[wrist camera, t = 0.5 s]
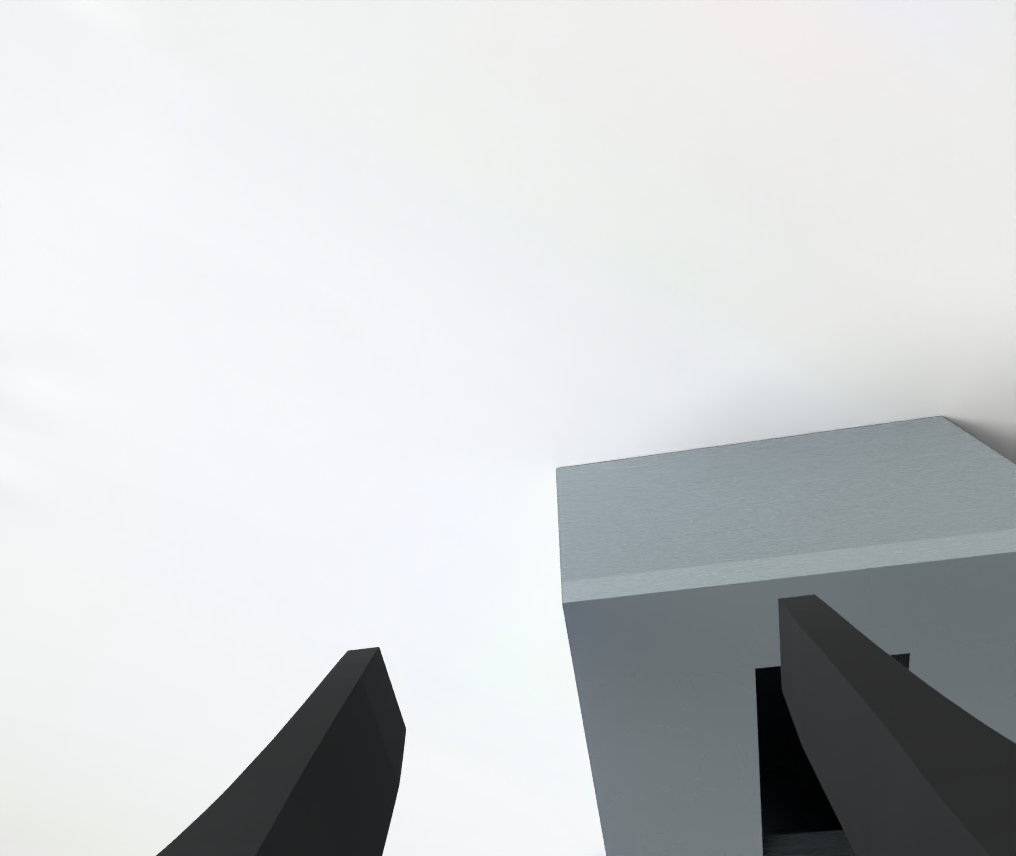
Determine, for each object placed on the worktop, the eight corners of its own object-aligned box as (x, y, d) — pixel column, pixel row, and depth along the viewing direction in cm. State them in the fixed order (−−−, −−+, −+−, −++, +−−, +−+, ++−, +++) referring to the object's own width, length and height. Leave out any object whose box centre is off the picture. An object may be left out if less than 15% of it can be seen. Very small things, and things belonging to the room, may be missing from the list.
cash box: (909, 818, 27) (1025, 1026, 20) (616, 839, 28) (639, 1042, 22) (941, 415, 20) (1129, 538, 14) (555, 468, 22) (561, 603, 15)
